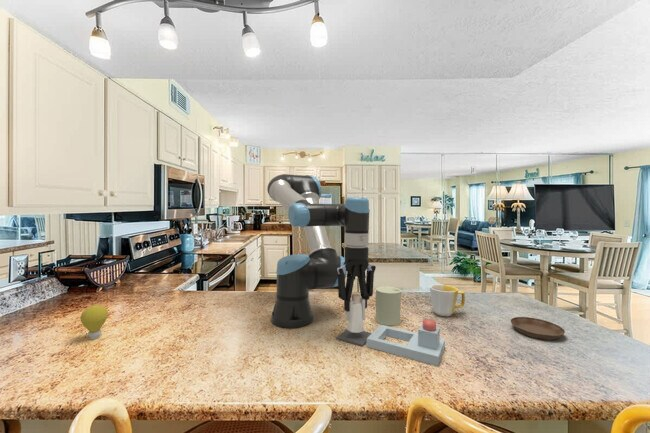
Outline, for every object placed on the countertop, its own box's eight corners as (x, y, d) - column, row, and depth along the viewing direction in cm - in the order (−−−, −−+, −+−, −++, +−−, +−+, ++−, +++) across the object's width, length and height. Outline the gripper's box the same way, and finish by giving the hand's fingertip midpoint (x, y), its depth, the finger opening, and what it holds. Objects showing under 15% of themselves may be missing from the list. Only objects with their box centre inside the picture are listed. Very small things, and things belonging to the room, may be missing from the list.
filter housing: (366, 346, 85) (367, 323, 85) (380, 332, 96) (380, 311, 95) (438, 366, 75) (438, 339, 75) (444, 347, 85) (445, 324, 85)
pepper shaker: (366, 332, 89) (367, 297, 89) (349, 333, 88) (350, 298, 88) (360, 325, 94) (361, 292, 94) (344, 326, 93) (345, 293, 93)
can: (401, 326, 100) (402, 292, 100) (374, 324, 102) (375, 290, 102) (400, 317, 109) (400, 285, 109) (375, 315, 111) (375, 284, 111)
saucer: (563, 347, 87) (563, 339, 86) (506, 333, 97) (506, 325, 96) (566, 332, 97) (566, 324, 97) (514, 320, 107) (514, 313, 107)
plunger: (421, 329, 81) (421, 322, 81) (423, 325, 84) (424, 318, 84) (434, 332, 79) (434, 325, 79) (436, 327, 82) (437, 320, 82)
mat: (336, 339, 90) (336, 337, 90) (348, 329, 98) (348, 327, 98) (362, 346, 85) (362, 344, 85) (373, 335, 93) (373, 333, 93)
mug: (433, 318, 108) (434, 290, 108) (426, 309, 118) (426, 283, 118) (471, 319, 107) (472, 292, 107) (460, 310, 117) (461, 284, 117)
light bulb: (113, 335, 91) (113, 303, 91) (90, 344, 85) (89, 310, 84) (98, 331, 93) (98, 301, 93) (75, 340, 87) (74, 307, 86)
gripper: (338, 249, 84) (337, 328, 84) (385, 246, 91) (384, 320, 91) (327, 246, 91) (326, 319, 91) (372, 243, 98) (371, 312, 98)
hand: (355, 319), depth 91 cm, fingers closed on pepper shaker, 4 cm apart
